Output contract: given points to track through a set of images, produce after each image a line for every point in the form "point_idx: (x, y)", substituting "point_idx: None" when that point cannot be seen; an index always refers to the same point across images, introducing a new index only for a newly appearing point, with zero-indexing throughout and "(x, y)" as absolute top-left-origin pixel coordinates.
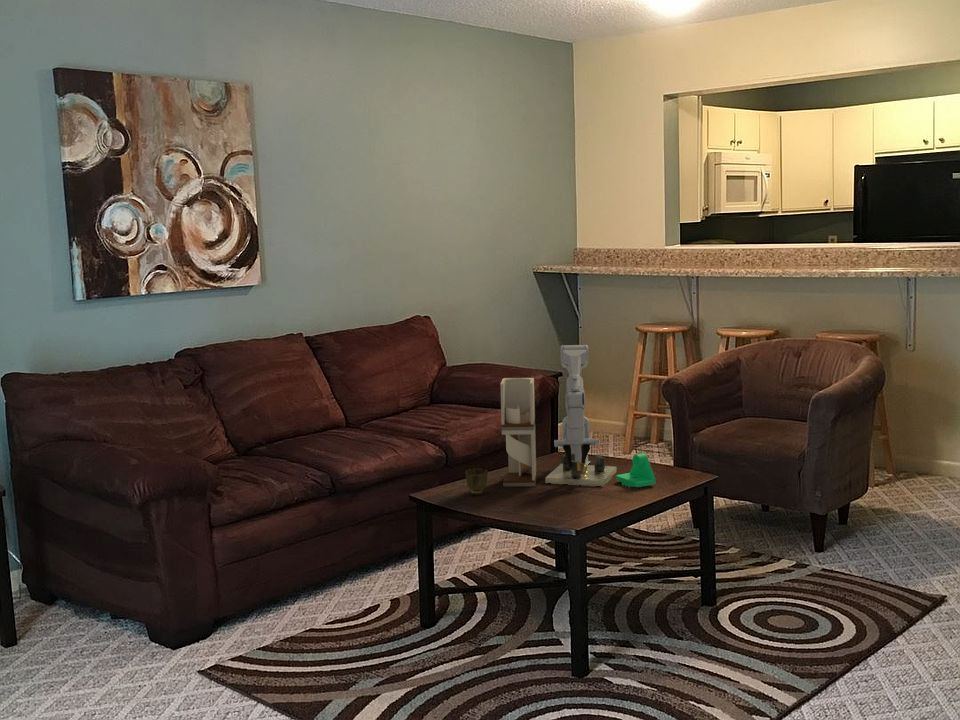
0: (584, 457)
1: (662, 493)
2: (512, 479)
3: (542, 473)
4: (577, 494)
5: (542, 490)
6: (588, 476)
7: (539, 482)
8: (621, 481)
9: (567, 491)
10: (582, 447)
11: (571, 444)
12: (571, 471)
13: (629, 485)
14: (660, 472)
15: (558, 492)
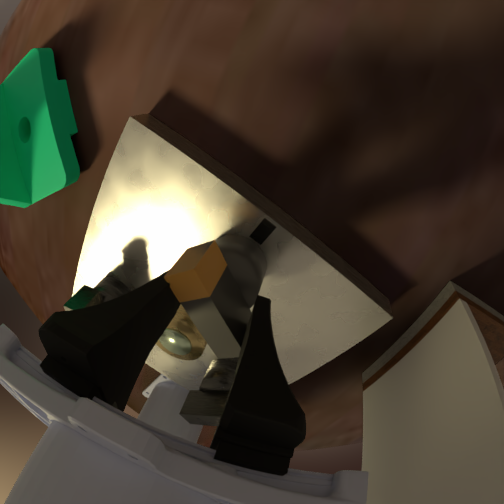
0: (135, 299)
1: (29, 6)
2: (498, 340)
3: (312, 396)
4: (338, 22)
5: (467, 198)
6: (175, 237)
7: (397, 321)
8: (68, 135)
9: (369, 104)
10: (104, 379)
11: (194, 456)
12: (260, 286)
13: (60, 84)
14: (4, 233)
15: (422, 114)
